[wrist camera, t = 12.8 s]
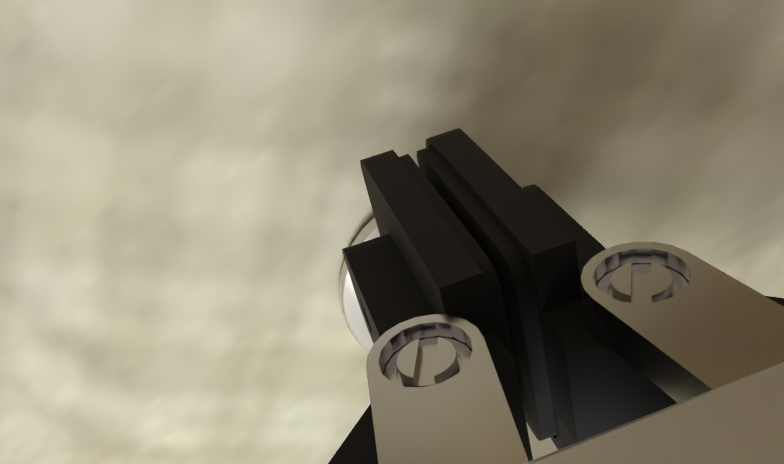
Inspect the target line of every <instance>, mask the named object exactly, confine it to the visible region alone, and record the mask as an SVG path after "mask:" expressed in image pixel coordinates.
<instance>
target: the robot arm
mask: <svg viewBox="0 0 784 464" xmlns="http://www.w3.org/2000/svg"><path fill="white" fill-rule="evenodd" d="M417 159H418V164H419V167H418V166H417V165H416V163H415V162H414V161H413V159H412V158H411V157H410V156H409V155H408V154H407V155H404V156H401V157H398V156H397V154H396V153H395V152H394V151H393V150H391V151H388V152H385V153H382V154H379V155H376V156H372V157H369V158H366V159H363V160H361V161H360V163H361V169H362V173H363V177H364V180H365V184H366V187H367V191H368V194H369V198H370V202H371V205H372V209H373V212H374V216H375V217H374V218H373V219H372V220H371V221H370V222H369V223H368V224H367V225H366V226H365V227H364V228H363V229H362V230H361V232H360V233H359V235H358V236H357V238H356V239H355V240H354V242H353V243H352V245H351V246H350V247H347V248H344V249H342V250H343V255H344V259H345V260H344V262H343V266H342V270H341V275H340V279H339V299H340V303H341V308H342V313H343V315H344V318H345V320H346V323H347V326H348V328H349V329H350V331H351V333H352V334H353V336H354V337H355V339H356V340H357V341H358V342H359V343H360V344H361V345H362V346H363V347H364V348H365V349H366V350H367V351H368V352H369V354H368V356H367V366H366V370H367V378H368V386H369V394H370V401H371V404H370V406H369V407H368V408H367V410H366V411H365V413H364V414H363V415H362V417H361V418H360V420H359V421H358V422H357V424H356V425H355V427H354V428H353V429H352V431H351V432H350V434H349V435H348V436H347V438H346V439H345V441H344V442H343V443H342V445H341V446H340V448H339V449H338V450H337V452H336V453H335V455H334V456H333V458H332V459H331V460H330V462H329V463H328V464H784V298H777V297H769V296H764V295H762V294H760V293H759V292H757V291H755V290H753V289H752V288H750V287H748V286H746V285H745V284H743V283H741V282H739V281H738V280H736V279H734V278H732V277H731V276H729V275H727V274H725V273H724V272H722V271H720V270H718V269H717V268H715V267H713V266H712V265H710V264H708V263H706V262H705V261H703V260H701V259H699V258H698V257H696V256H694V255H692V254H691V253H689V252H687V251H685V250H682V249H680V248H677V247H675V246H673V245H667V244H662V243H657V242H633V243H627V244H620V245H617V246H614V247H611V248H608V249H605V248H604V247H603V246H602V245H601V244H600V243H599V242H598V241H597V240H596V239H595V238H594V237H592V236H591V235H590V234H589V233H588V232H587V231H586V230H585V229H584V228H583V227H582V226H580V225H579V224H578V223H577V222H576V221H575V220H574V219H573V218H572V217H571V216H570V215H569V214H567V213H566V212H565V211H564V210H563V209H562V208H561V207H560V206H559V205H558V204H557V203H556V202H554V201H553V200H552V199H551V198H550V197H549V196H548V195H547V194H546V193H545V192H544V191H542V190H541V189H540V188H539V187H537V186H536V185H529V186H526V187H523V188H521V187H520V186H519V185H518V184H517V183H516V182H515V181H514V180H513V179H512V178H511V177H510V176H509V175H508V174H507V173H506V172H504V171H503V170H502V169H501V168H500V167H499V166H498V165H497V164H496V163H495V162H494V161H493V160H492V159H491V158H490V157H489V156H488V155H487V154H486V153H485V152H484V151H483V150H482V149H481V148H480V147H479V146H478V145H477V144H476V143H475V142H474V141H472V140H471V139H470V138H469V137H468V136H467V135H466V134H465V133H464V132H463V131H462V130H461V129H459V128H458V129H455V130H452V131H449V132H446V133H443V134H440V135H437V136H434V137H430V138H428V139H426V148H425V149H422V150H419V151H417ZM419 168H420V169H419Z"/></svg>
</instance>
